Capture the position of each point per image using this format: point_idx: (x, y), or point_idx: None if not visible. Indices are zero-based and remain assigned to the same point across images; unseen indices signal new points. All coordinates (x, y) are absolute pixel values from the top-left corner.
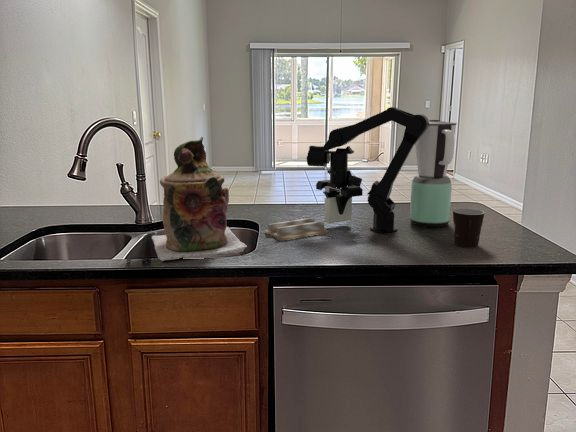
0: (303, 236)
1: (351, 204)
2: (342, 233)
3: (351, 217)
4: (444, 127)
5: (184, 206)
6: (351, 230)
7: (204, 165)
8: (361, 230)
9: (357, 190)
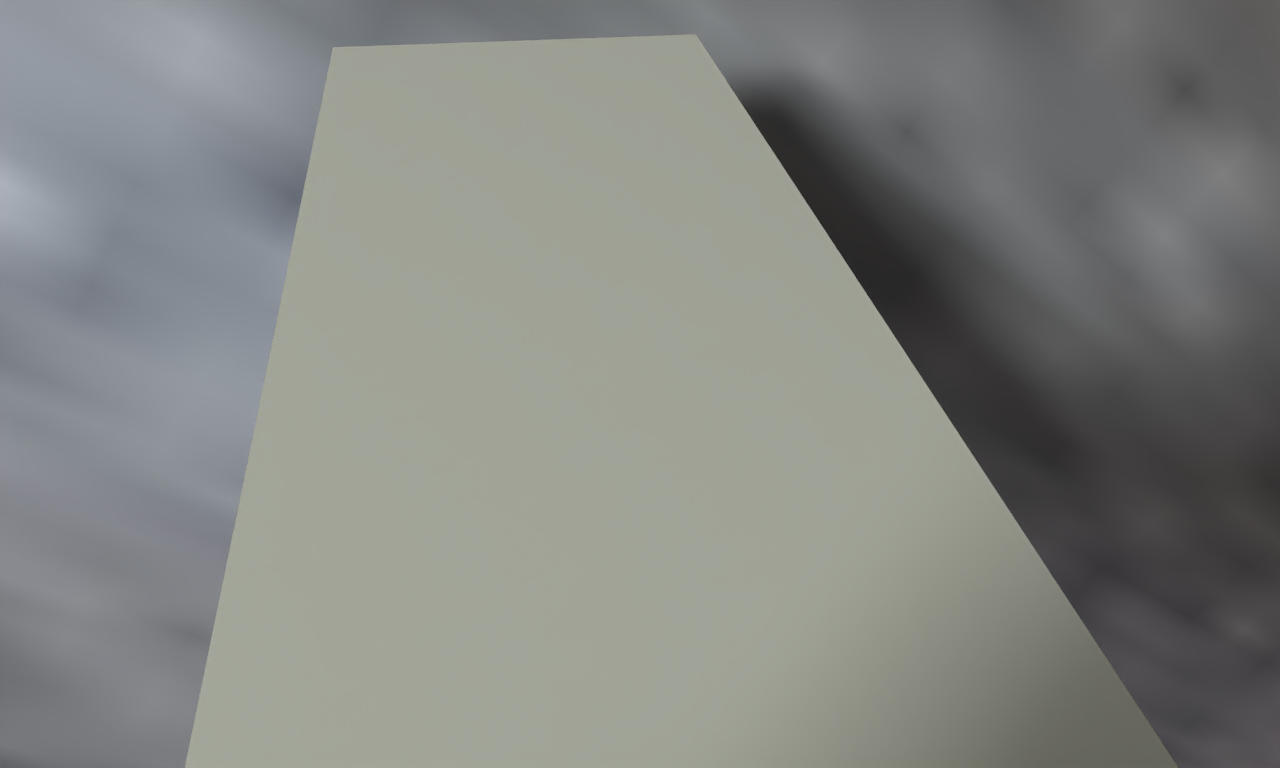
0: None
1: (939, 428)
2: (1058, 538)
3: (720, 73)
4: None
5: None
6: (1034, 266)
7: None
8: (1232, 40)
9: None
